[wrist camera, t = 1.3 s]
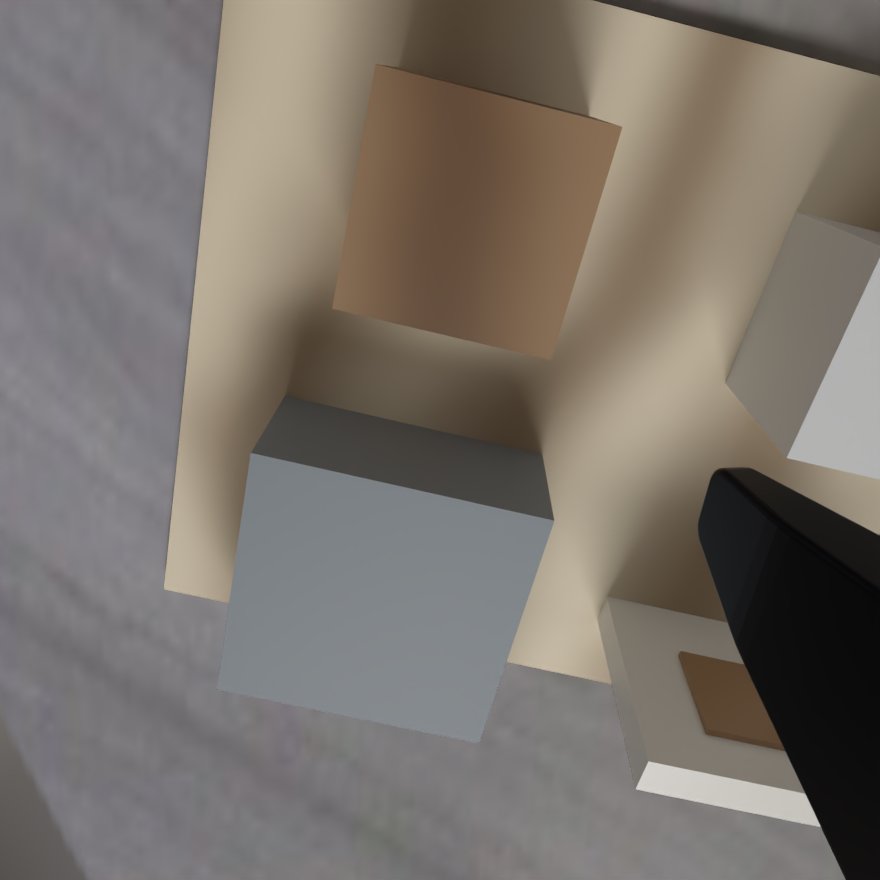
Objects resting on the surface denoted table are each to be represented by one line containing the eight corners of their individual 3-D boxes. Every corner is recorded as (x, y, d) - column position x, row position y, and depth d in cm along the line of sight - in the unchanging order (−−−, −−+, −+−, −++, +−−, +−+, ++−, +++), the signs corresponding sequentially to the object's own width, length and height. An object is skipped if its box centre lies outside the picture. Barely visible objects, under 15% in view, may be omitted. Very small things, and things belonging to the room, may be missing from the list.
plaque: (808, 635, 27) (912, 809, 20) (793, 662, 27) (891, 841, 21) (608, 591, 26) (651, 755, 20) (597, 619, 27) (635, 789, 20)
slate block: (542, 454, 24) (554, 520, 21) (478, 655, 28) (479, 743, 24) (284, 395, 24) (250, 452, 20) (251, 607, 27) (216, 689, 23)
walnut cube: (589, 116, 20) (622, 126, 16) (535, 302, 22) (550, 360, 18) (398, 67, 20) (375, 64, 15) (361, 261, 22) (332, 308, 17)
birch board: (1083, 131, 20) (1097, 133, 20) (773, 709, 29) (778, 719, 28) (239, -90, 19) (233, -95, 19) (169, 580, 27) (164, 589, 27)
